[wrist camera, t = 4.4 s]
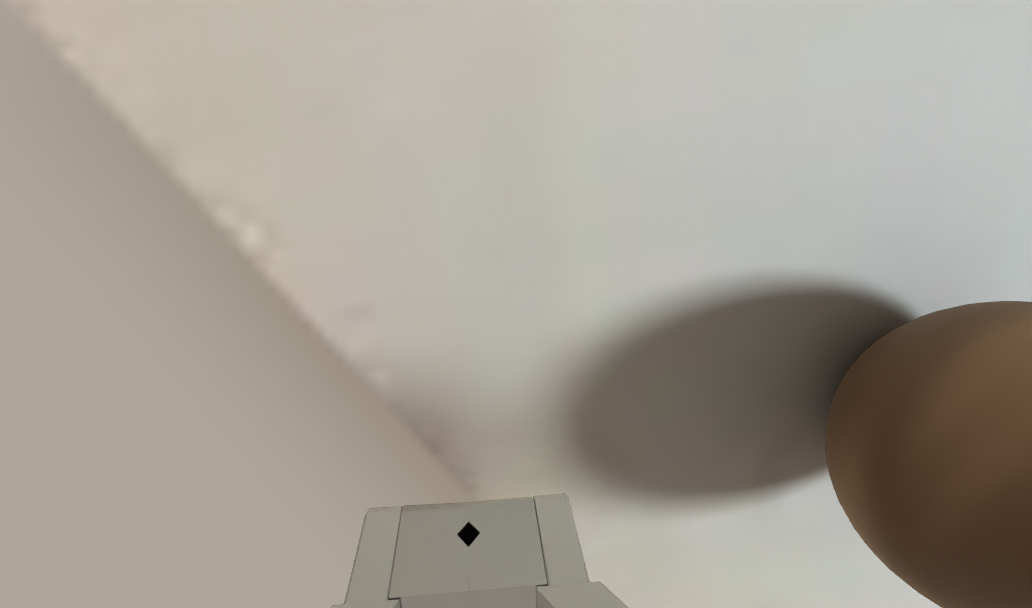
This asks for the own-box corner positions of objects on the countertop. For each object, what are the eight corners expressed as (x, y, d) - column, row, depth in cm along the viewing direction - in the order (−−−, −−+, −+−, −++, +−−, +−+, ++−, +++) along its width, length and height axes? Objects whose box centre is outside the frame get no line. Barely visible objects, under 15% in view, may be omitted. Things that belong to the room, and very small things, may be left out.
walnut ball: (797, 263, 10) (1108, 437, 5) (1055, 254, 11) (1569, 407, 6) (751, 486, 12) (944, 760, 7) (969, 470, 13) (1289, 720, 8)
